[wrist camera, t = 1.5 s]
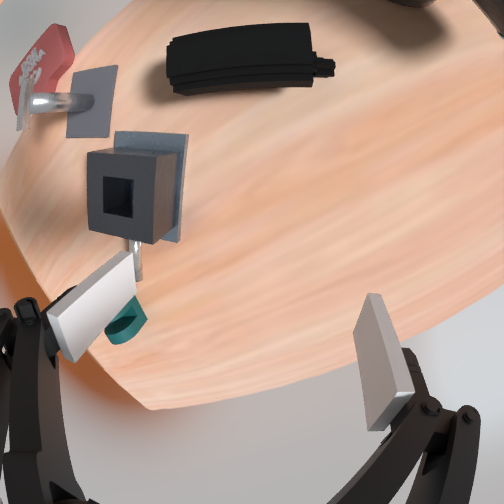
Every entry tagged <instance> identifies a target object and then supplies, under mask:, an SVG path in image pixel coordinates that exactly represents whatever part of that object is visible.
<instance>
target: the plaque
mask: <svg viewBox="0 0 504 504" xmlns="http://www.w3.org/2000/svg"><path fill="white" fill-rule="evenodd" d="M74 57H75V53H74V50H73V47H72V44H71V41H70V37H69V34H68V31H67V28H66V27H65V26H62V25H58V24H52V25H51V26H49V28H48V29H47V30H46V31H45V32H44V33H43V35H42V36H41V37H40V38H39V39H38V40H37V42H36V43H35V44H34V45H33V47H32V48H31V49H30V50H29V52H28V53H27V54H26V56H25V57H24V58H23V60H22V61H21V62H20V64H19V65H18V67H17V68H16V70H15V71H14V72H13V74H12V76H11V78H10V82H9V87H10V92H11V97H12V101H13V106H14V110H15V113H16V115H17V116H18V106H19V97H20V89H21V83H22V79H25V78H35V81H34V87H33V93H55V90H56V86H57V82H58V80H59V78H60V77H61V76H62V75H63V74H64V73H65V72H66V71H67V70H68V69H69V68H70V66H71V65H72V63H73V61H74Z"/></svg>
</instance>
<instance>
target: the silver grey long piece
mask: <svg viewBox="0 0 504 504" xmlns="http://www.w3.org/2000/svg"><path fill="white" fill-rule="evenodd" d="M34 81H35V78H25V79H22V83H21V89H20V97H19V106H18V117H17V131H19V130H26V129H29V127H30V114H39V113H53V112H73V111H89V110H91V109H92V107H93V105H94V102H95V99H94V96H93V95H92V94H84V93H33V87H34Z"/></svg>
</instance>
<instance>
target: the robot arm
mask: <svg viewBox="0 0 504 504" xmlns="http://www.w3.org/2000/svg"><path fill="white" fill-rule="evenodd" d="M389 1H392V2H394V3H397V4H401V5H405V6H410V7H424V6H428V5H430V4H432V3H433V2H434V1H436V0H389ZM472 1H473V2H474V3H475V4H476V5H477V6H478V7H479V9H480V10H481V11H482V12H483V13H484V15H485V16H486V17H487V18H488V19H489V21H490V22H491V23H492V25H493V26H494V27H495V28H496V30H497V33H498V34H499V36H500V37H501V38H502V39H504V0H472ZM136 293H137V290H136V281H135V272H134V262H133V252H128V251H123V250H122V251H120V252H119V253H118V254H116V255H115V256H114V257H113V258H111V259H110V260H109V261H107V262H106V263H105V264H104V265H102V266H101V267H100V268H98V269H97V270H96V271H95V272H93V273H92V274H91V275H90V276H88V277H87V278H86V279H85V280H84V281H82V282H81V283H80V284H79V285H78V286H77V285H76V286H73V287H71V288H69V289H67V290H66V291H65V292H64V293H63V294H62V295H60V296H59V297H58V298H57V300H54V301H53V302H52V303H51V304H50V305H49V306H47V307H46V308H45V309H44V310H43V311H42V312H41V313H40V310H39V307H38V304H37V301H36V300H35V299H34V298H32V297H26V298H23V299H21V300H19V301H18V302H17V303H16V304H15V305H14V310H15V312H16V315H17V318H15V317H13V315H12V313H11V310H9V309H8V308H1V309H0V478H1V471H2V463H3V471H4V479H5V486H6V492H7V498H8V503H9V504H99V503H97V502H95V501H93V500H91V499H89V500H88V501H86V499H85V497H84V494H83V492H82V490H81V488H80V486H79V485H78V483H77V481H76V479H75V477H74V473H73V469H72V465H71V461H70V456H69V451H68V446H67V440H66V435H65V428H64V422H63V414H62V405H61V396H60V383H59V365H58V364H59V363H58V361H59V360H58V355H57V352H58V351H59V350H61V352H62V354H63V356H64V358H66V359H67V360H69V361H71V362H74V363H76V362H77V360H78V359H79V358H80V357H81V356H82V354H83V353H84V352H85V351H86V350H87V348H88V347H89V346H90V345H91V344H92V343H93V341H94V340H95V339H96V338H97V337H98V336H99V334H100V333H101V332H102V331H103V330H104V329H105V327H106V326H107V325H108V324H109V323H110V322H111V321H112V320H113V318H114V317H115V316H116V315H117V314H118V313H119V312H120V311H121V309H122V308H123V307H124V306H125V305H126V304H127V303H128V302H129V301H130V300H131V298H132V297H133V296H134V295H135V294H136ZM353 336H354V341H355V347H356V352H357V358H358V364H359V370H360V376H361V383H362V390H363V397H364V405H365V413H366V421H367V430H368V431H384V430H385V429H386V428H387V426H388V425H389V424H390V426H391V432H390V433H389V434H388V435H387V436H386V437H385V439H384V440H383V441H382V442H381V445H380V446H379V447H378V449H377V450H376V451H375V452H374V454H373V455H372V456H371V457H370V458H369V460H368V461H367V462H366V463H365V464H364V466H363V467H362V468H361V469H360V470H359V471H358V472H357V473H356V474H355V475H354V477H353V478H352V479H351V480H350V481H349V482H348V483H347V484H346V485H345V486H344V487H343V488H342V490H340V491H339V492H338V493H337V494H336V495H335V496H334V497H333V498H332V499H331V500H330V501H329V502H328V503H327V504H388V503H389V502H390V501H391V500H392V498H393V497H394V496H395V494H396V493H397V492H398V490H399V489H400V487H401V486H402V485H403V483H404V482H405V480H406V478H407V477H408V476H409V474H410V472H411V471H412V469H413V468H414V466H415V465H416V463H417V461H418V460H419V458H420V456H421V454H422V453H423V455H422V459H421V462H420V465H419V468H418V472H417V474H416V477H415V480H414V483H413V486H412V489H411V491H410V494H409V497H408V499H407V501H406V504H469V500H470V496H471V491H472V486H473V481H474V476H475V470H476V464H477V457H478V449H479V438H480V425H481V419H480V415H479V413H478V411H477V410H476V409H475V408H474V407H472V406H469V405H464V406H462V407H461V408H460V409H459V410H458V411H457V412H455V411H450V410H446V409H443V408H442V405H441V404H440V402H439V401H438V400H437V399H436V398H434V397H432V396H430V395H429V392H428V389H427V386H426V383H425V380H424V377H423V374H422V373H421V369H420V366H419V364H418V361H417V358H416V356H415V354H414V353H413V352H412V351H411V350H410V348H401V346H400V343H399V341H398V338H397V335H396V332H395V330H394V327H393V324H392V322H391V319H390V317H389V314H388V311H387V309H386V306H385V304H384V301H383V299H382V297H381V295H380V294H373V293H367V296H366V299H365V302H364V305H363V308H362V310H361V313H360V316H359V318H358V321H357V324H356V326H355V329H354V331H353ZM3 346H4V348H5V350H6V351H5V353H4V354H3V352H2V348H3ZM8 425H9V439H10V451H9V452H6V453H4V448H5V441H6V435H7V430H8ZM0 504H3V502H2V500H1V499H0Z"/></svg>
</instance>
